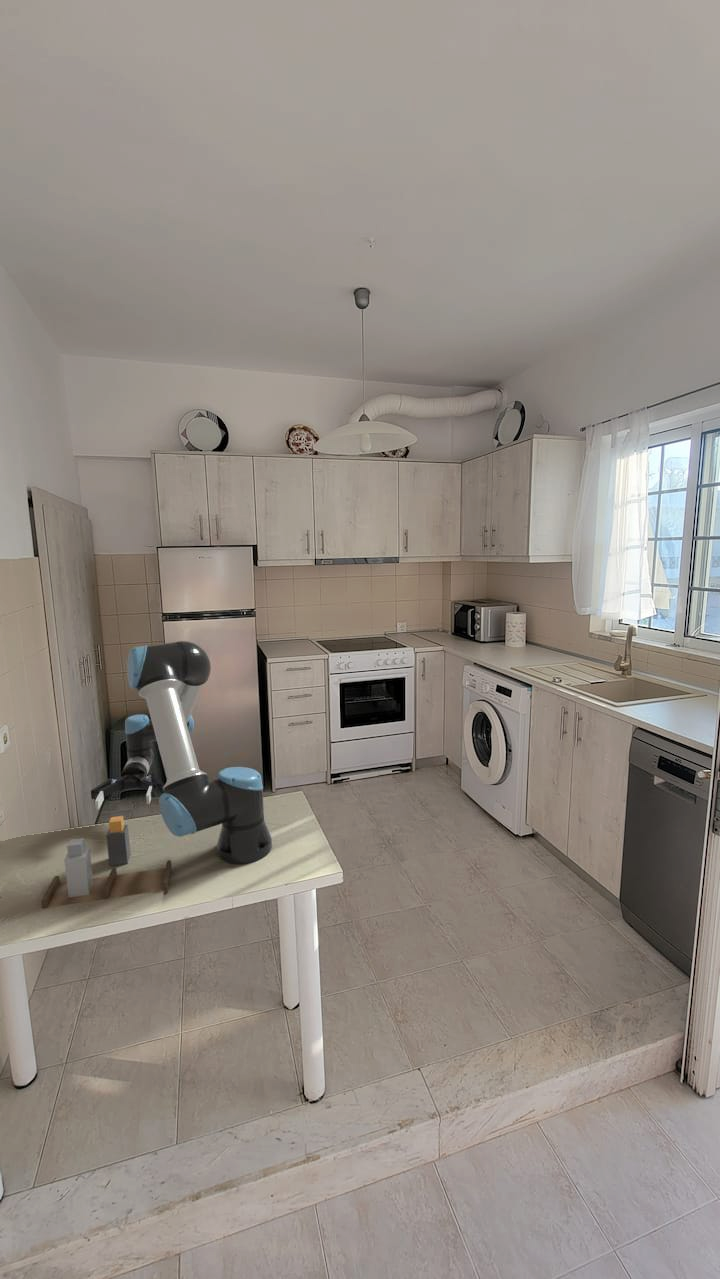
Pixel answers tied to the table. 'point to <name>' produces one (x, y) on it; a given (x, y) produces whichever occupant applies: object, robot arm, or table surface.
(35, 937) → the table surface
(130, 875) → the brown wooden tray
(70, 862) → the grey plug
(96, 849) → the table surface
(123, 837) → the charcoal plug
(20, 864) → the table surface
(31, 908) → the table surface
